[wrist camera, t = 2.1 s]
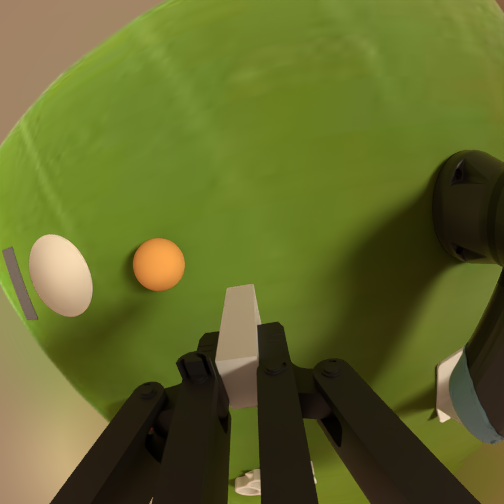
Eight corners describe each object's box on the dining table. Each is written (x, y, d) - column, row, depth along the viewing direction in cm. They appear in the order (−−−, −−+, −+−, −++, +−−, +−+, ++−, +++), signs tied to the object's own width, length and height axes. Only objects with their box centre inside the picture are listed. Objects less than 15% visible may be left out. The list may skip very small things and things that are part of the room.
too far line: (12, 246, 30) (11, 247, 30) (38, 318, 34) (37, 319, 34) (2, 250, 30) (2, 250, 30) (27, 319, 34) (27, 320, 34)
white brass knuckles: (260, 492, 49) (221, 473, 45) (328, 470, 46) (296, 449, 42) (261, 503, 46) (220, 485, 42) (330, 482, 43) (298, 462, 39)
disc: (76, 225, 30) (75, 225, 30) (104, 312, 33) (104, 313, 33) (21, 243, 30) (20, 244, 30) (47, 318, 34) (46, 318, 33)
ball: (183, 228, 30) (169, 241, 25) (194, 275, 32) (184, 296, 26) (138, 237, 30) (118, 251, 25) (151, 282, 32) (134, 303, 27)
